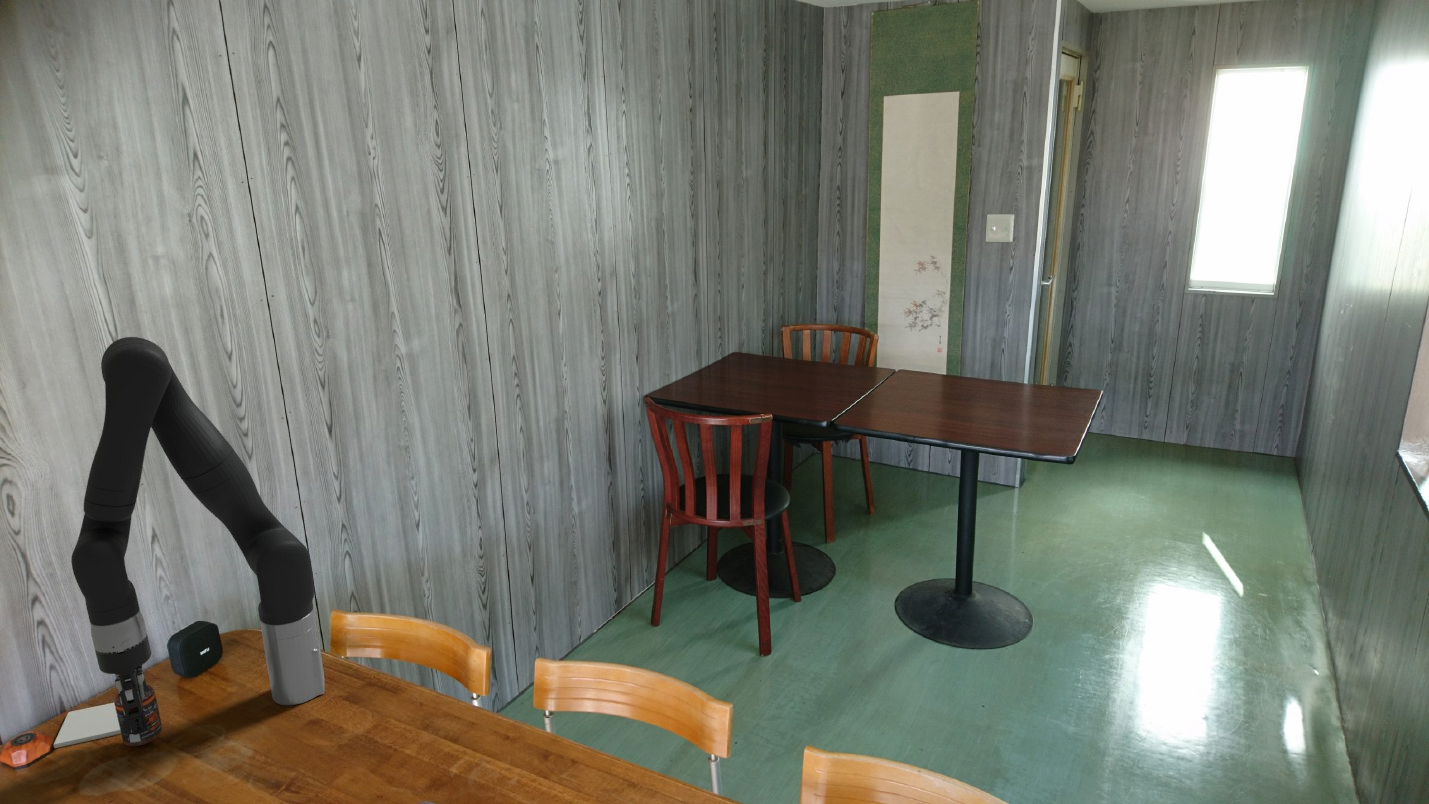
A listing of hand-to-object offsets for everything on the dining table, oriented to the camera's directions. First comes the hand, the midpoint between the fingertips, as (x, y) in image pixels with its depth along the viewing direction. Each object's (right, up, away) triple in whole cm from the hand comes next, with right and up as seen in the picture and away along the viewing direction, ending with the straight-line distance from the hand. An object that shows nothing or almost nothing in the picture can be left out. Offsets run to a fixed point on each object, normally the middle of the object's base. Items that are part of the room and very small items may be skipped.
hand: (140, 721), depth 150 cm
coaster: (-12, -3, +6) cm, 14 cm away
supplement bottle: (0, -3, +1) cm, 3 cm away
